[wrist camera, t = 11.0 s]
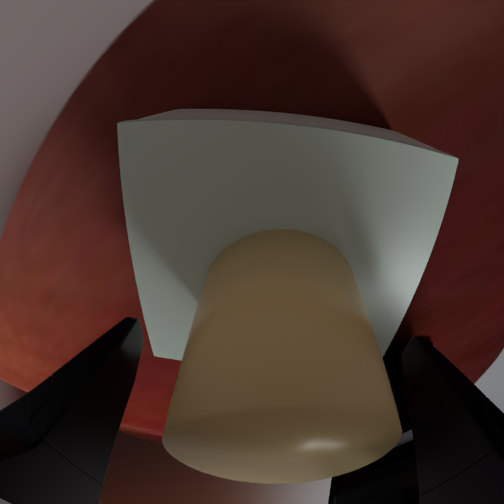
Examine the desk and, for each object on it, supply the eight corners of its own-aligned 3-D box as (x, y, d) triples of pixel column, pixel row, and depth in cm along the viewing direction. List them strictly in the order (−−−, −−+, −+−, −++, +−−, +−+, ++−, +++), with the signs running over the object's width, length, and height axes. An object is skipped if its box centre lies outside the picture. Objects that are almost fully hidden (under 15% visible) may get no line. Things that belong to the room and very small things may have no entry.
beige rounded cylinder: (334, 349, 12) (353, 479, 7) (207, 341, 12) (180, 474, 7) (371, 237, 9) (448, 393, 4) (201, 223, 9) (134, 387, 4)
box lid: (372, 361, 13) (375, 370, 13) (157, 346, 14) (154, 356, 13) (449, 154, 8) (458, 158, 7) (125, 120, 8) (117, 123, 8)
